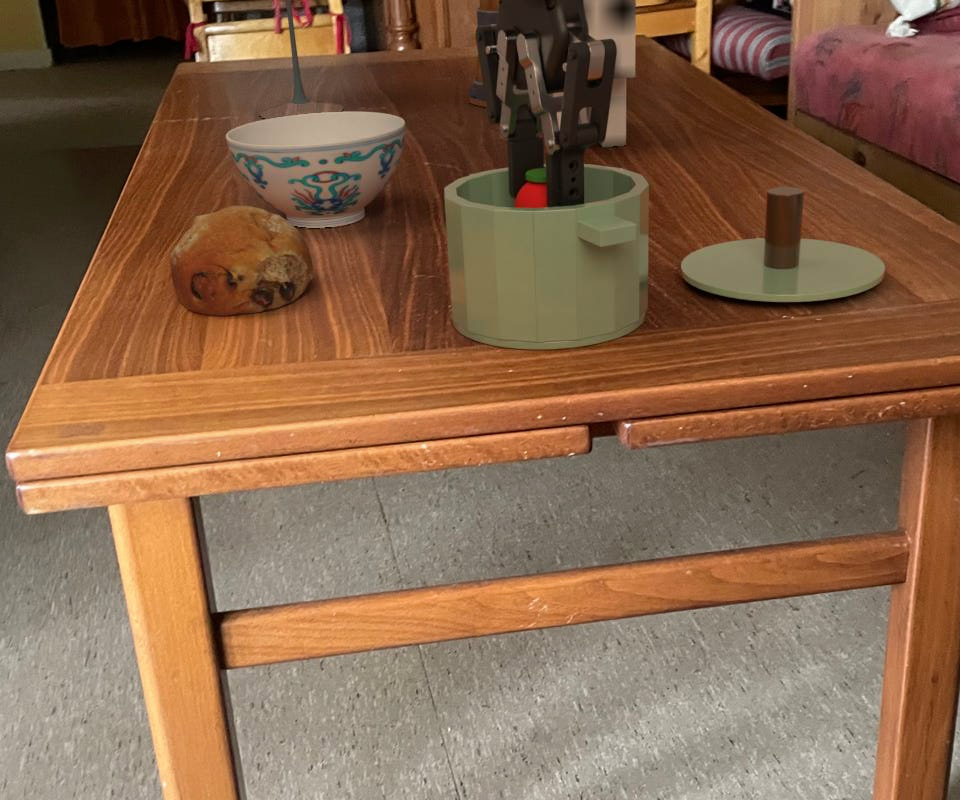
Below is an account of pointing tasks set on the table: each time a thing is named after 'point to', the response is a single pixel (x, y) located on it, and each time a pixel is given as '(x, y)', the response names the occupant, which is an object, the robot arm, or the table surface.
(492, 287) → the pot
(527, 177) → the red rounded jar
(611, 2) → the toy llama
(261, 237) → the bread roll
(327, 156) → the chinaware
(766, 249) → the lid
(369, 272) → the table surface
